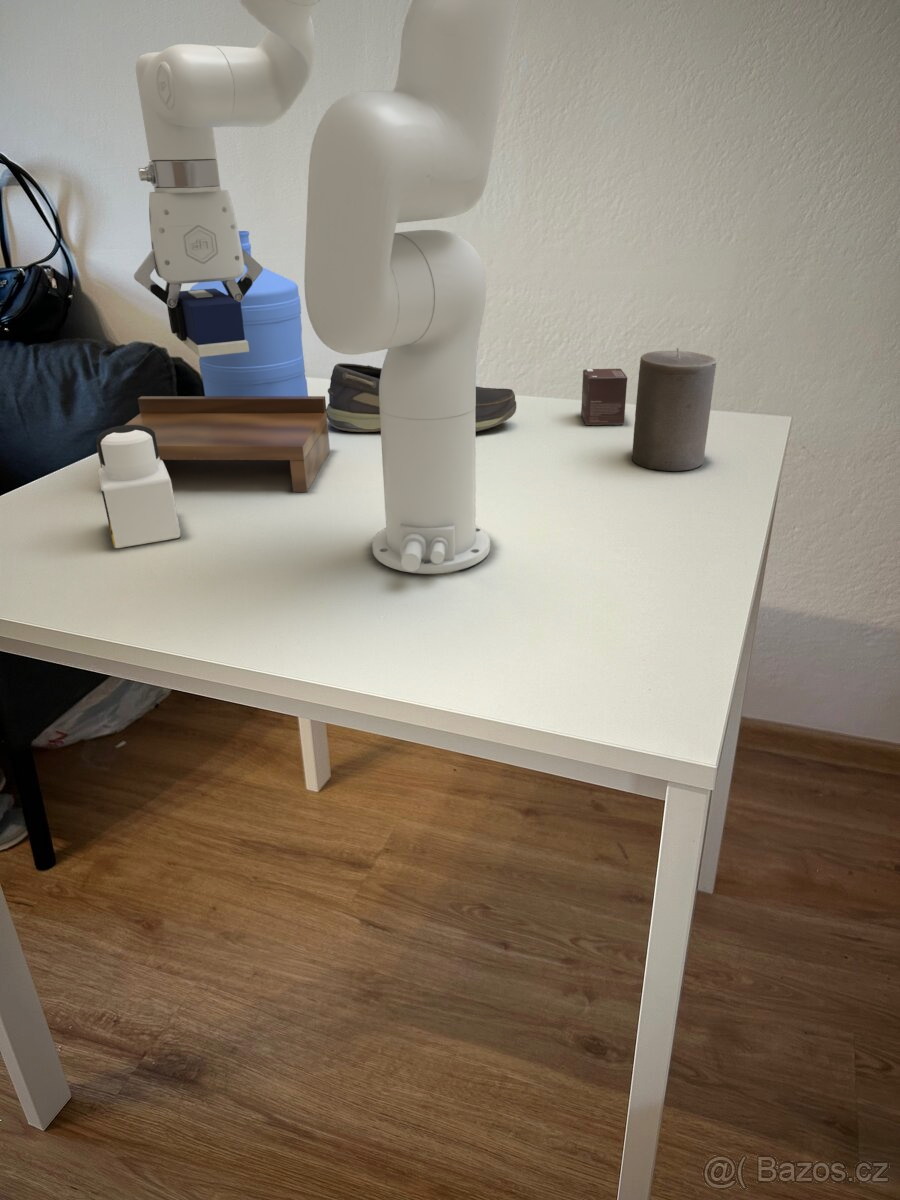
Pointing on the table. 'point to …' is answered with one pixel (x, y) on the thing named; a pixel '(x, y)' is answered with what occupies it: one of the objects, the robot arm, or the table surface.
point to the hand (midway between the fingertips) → (208, 334)
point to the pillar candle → (673, 409)
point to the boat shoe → (361, 410)
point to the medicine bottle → (136, 487)
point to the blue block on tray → (212, 323)
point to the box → (603, 396)
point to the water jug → (261, 341)
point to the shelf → (240, 430)
